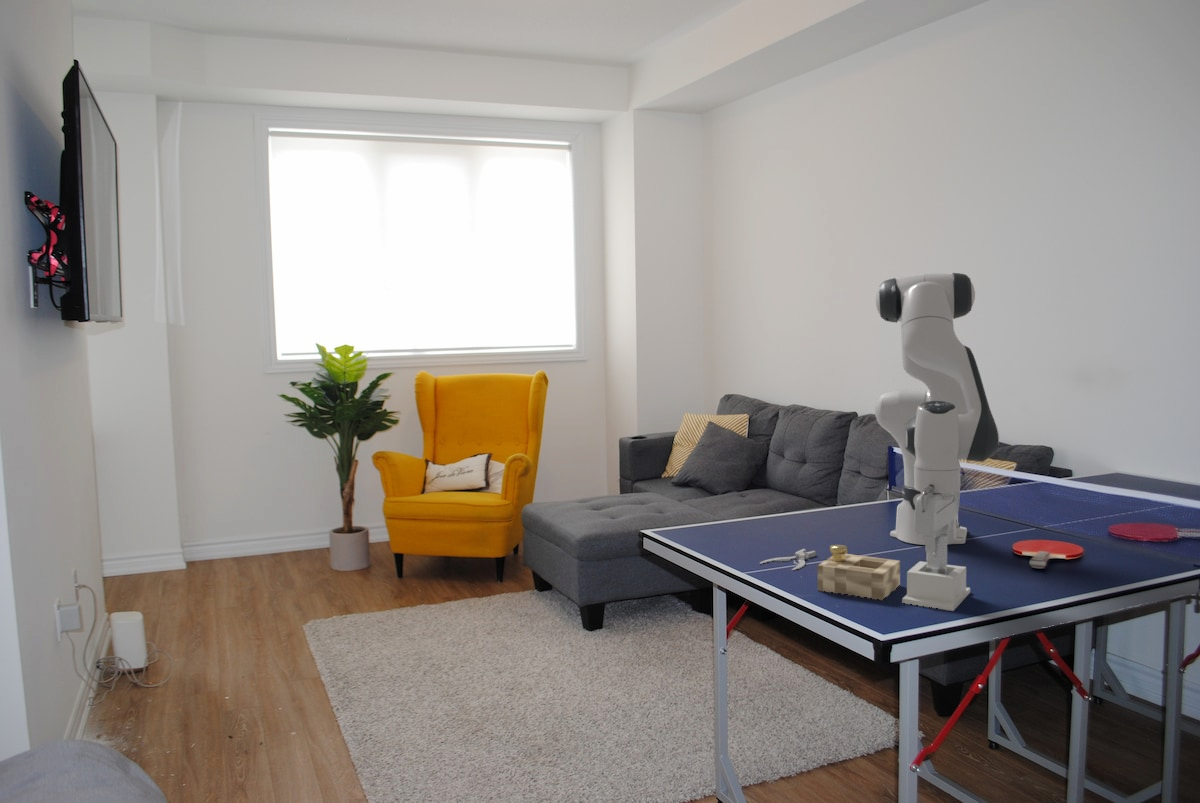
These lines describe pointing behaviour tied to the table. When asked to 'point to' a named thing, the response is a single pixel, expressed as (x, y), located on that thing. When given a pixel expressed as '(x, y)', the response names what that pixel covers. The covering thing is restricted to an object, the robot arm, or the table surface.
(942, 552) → the grey rounded cylinder
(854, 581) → the socket block
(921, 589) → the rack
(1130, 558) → the table surface
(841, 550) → the key
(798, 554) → the pliers
